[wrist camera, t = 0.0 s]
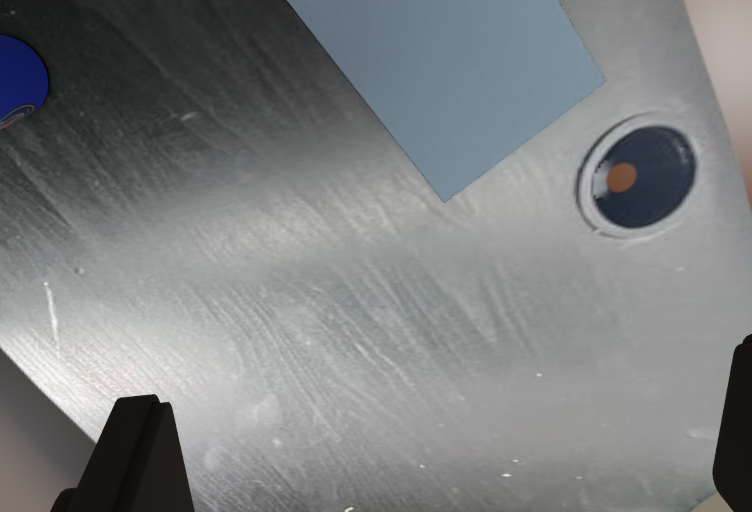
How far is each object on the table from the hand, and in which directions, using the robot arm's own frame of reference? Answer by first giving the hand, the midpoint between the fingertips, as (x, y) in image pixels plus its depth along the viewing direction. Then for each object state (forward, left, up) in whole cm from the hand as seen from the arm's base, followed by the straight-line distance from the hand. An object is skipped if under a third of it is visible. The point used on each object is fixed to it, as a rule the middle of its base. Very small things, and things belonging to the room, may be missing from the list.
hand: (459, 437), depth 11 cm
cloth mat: (+1, +7, -37) cm, 38 cm away
